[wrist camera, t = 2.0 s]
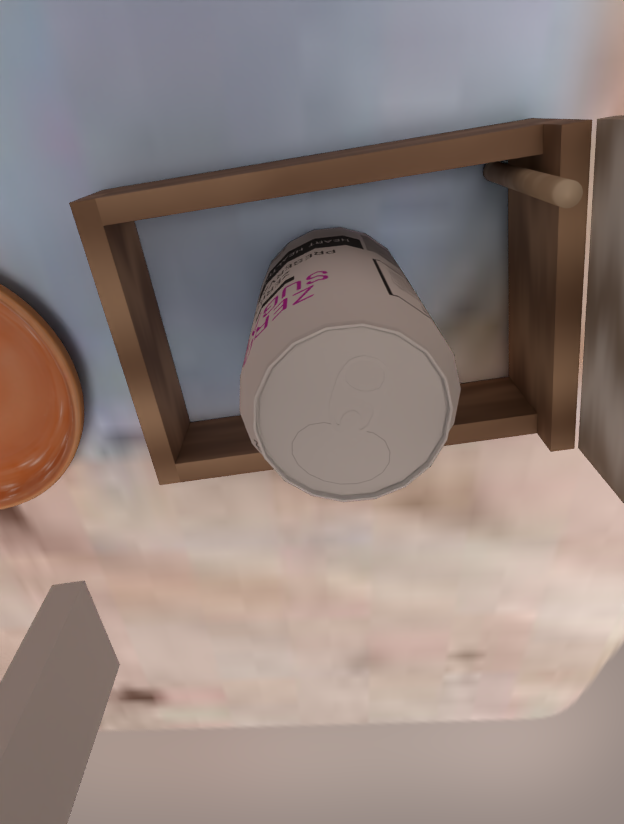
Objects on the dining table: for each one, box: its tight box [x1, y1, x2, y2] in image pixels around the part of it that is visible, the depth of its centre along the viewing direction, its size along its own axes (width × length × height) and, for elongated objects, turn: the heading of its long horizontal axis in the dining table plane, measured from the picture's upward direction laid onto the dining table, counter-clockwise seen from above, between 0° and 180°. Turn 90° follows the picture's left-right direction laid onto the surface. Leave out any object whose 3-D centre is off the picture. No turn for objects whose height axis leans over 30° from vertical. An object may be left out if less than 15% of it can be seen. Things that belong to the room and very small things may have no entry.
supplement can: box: [240, 227, 461, 502], centre depth 27 cm, size 8×8×15 cm
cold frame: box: [69, 116, 624, 503], centre depth 24 cm, size 15×23×23 cm, turn 99°
